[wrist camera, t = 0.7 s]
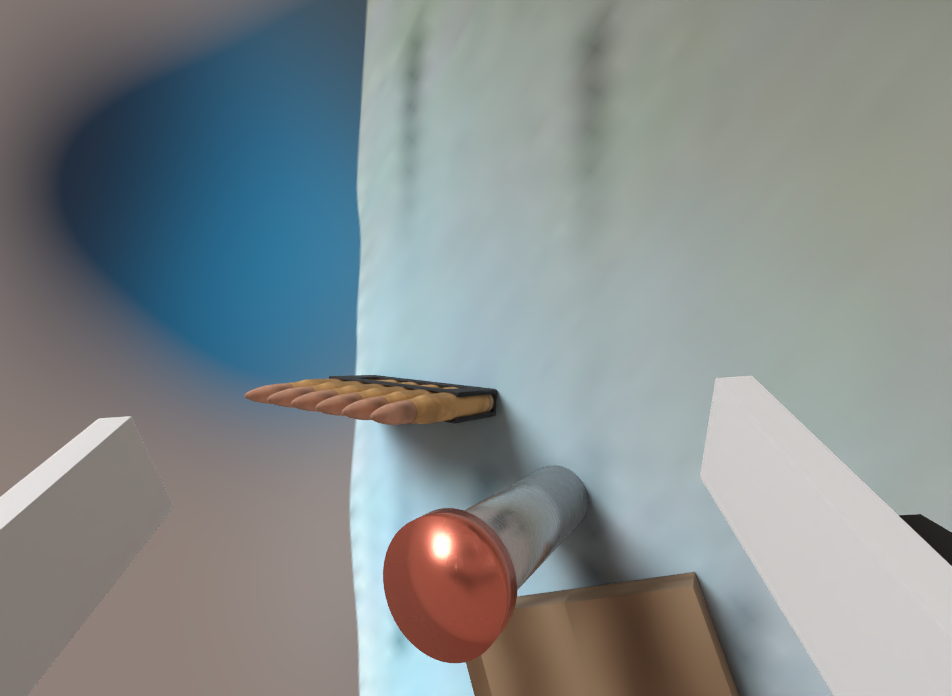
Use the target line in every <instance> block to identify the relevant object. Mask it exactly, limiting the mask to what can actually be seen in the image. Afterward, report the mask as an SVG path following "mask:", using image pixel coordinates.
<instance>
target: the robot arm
mask: <svg viewBox="0 0 952 696" xmlns="http://www.w3.org/2000/svg"><path fill="white" fill-rule="evenodd" d="M700 478H701V479H702V481H703V483H704V484H705V486H706V488H707V489H708V491H709V492H710V494H711V496H712V497H713V499H714V501H715V502H716V504H717V506H718V507H719V509H720V510H721V512H722V514H723V515H724V517H725V519H726V520H727V522H728V523H729V525H730V527H731V528H732V530H733V532H734V533H735V535H736V537H737V538H738V540H739V541H740V543H741V545H742V546H743V548H744V550H745V551H746V553H747V554H748V556H749V558H750V559H751V561H752V563H753V564H754V566H755V568H756V569H757V571H758V572H759V574H760V576H761V577H762V579H763V581H764V582H765V584H766V585H767V587H768V589H769V590H770V592H771V594H772V595H773V597H774V599H775V600H776V602H777V603H778V605H779V607H780V608H781V610H782V612H783V613H784V615H785V616H786V618H787V620H788V621H789V623H790V625H791V626H792V628H793V630H794V631H795V633H796V634H797V636H798V638H799V639H800V641H801V643H802V644H803V646H804V647H805V649H806V651H807V652H808V654H809V656H810V657H811V659H812V661H813V662H814V664H815V665H816V667H817V669H818V670H819V672H820V674H821V675H822V677H823V678H824V680H825V682H826V683H827V685H828V687H829V688H830V690H831V692H832V693H833V695H834V696H952V532H950V531H948V530H946V529H945V528H943V527H941V526H940V525H938V524H936V523H934V522H933V521H931V520H929V519H928V518H926V517H924V516H922V515H921V514H918V515H899V516H898V515H897V514H896V513H895V512H894V511H893V510H892V509H891V508H890V507H889V506H888V505H887V504H886V503H885V502H884V501H883V500H882V499H881V498H880V497H878V496H877V495H876V494H875V493H874V492H873V491H872V490H871V489H870V488H869V487H868V486H867V485H866V484H865V483H864V482H863V481H862V480H861V479H860V478H859V477H857V476H856V475H855V474H854V473H853V472H852V471H851V470H850V469H849V468H848V467H847V466H846V465H845V464H844V463H843V462H842V461H841V460H840V459H839V458H838V457H836V456H835V455H834V454H833V453H832V452H831V451H830V450H829V449H828V448H827V447H826V446H825V445H824V444H823V443H822V442H821V441H820V440H819V439H818V438H817V437H815V436H814V435H813V434H812V433H811V432H810V431H809V430H808V429H807V428H806V427H805V426H804V425H803V424H802V423H801V422H800V421H799V420H798V419H797V418H796V417H794V416H793V415H792V414H791V413H790V412H789V411H788V410H787V409H786V408H785V407H784V406H783V405H782V404H781V403H780V402H779V401H778V400H777V399H776V398H775V397H773V396H772V395H771V394H770V393H769V392H768V391H767V390H766V389H765V388H764V387H763V386H762V385H761V384H760V383H759V382H758V381H757V380H756V379H755V378H754V377H752V376H740V377H724V378H716V380H715V386H714V392H713V398H712V405H711V411H710V417H709V423H708V430H707V436H706V442H705V449H704V455H703V461H702V467H701V474H700ZM173 508H174V506H173V504H172V502H171V500H170V498H169V496H168V493H167V491H166V489H165V487H164V485H163V483H162V481H161V478H160V477H159V474H158V472H157V470H156V468H155V466H154V464H153V462H152V459H151V457H150V455H149V453H148V451H147V449H146V447H145V444H144V442H143V440H142V438H141V436H140V434H139V432H138V430H137V428H136V425H135V423H134V421H133V419H132V417H131V416H130V417H114V418H99V419H98V420H96V421H95V422H94V423H93V424H91V425H90V426H89V427H88V428H86V429H85V430H84V431H83V432H82V433H80V434H79V435H78V436H76V437H75V438H74V439H73V440H71V441H70V442H69V443H67V444H66V445H65V446H64V447H62V448H61V449H60V450H59V451H58V452H56V453H55V454H54V455H52V456H51V457H50V458H49V459H47V460H46V461H45V462H44V463H42V464H41V465H40V466H39V467H37V468H36V469H35V470H34V471H32V472H31V473H30V474H29V475H27V476H26V477H25V478H24V479H22V480H21V481H20V482H19V483H17V484H16V485H15V486H14V487H12V488H11V489H10V490H8V491H7V492H6V493H5V494H4V495H2V496H1V497H0V696H27V695H28V694H29V693H30V691H31V690H32V689H33V688H34V686H35V685H36V684H37V683H38V681H39V680H40V679H41V677H42V676H43V675H44V674H45V672H46V671H47V670H48V668H49V667H50V666H51V665H52V663H53V662H54V661H55V659H56V658H57V657H58V656H59V654H60V653H61V652H62V650H63V649H64V648H65V647H66V645H67V644H68V643H69V641H70V640H71V639H72V638H73V636H74V635H75V634H76V632H77V631H78V630H79V629H80V627H81V626H82V625H83V623H84V622H85V621H86V620H87V618H88V617H89V616H90V614H91V613H92V612H93V611H94V609H95V608H96V607H97V605H98V604H99V603H100V601H101V600H102V599H103V598H104V597H105V595H106V594H107V593H108V591H109V590H110V589H111V587H112V586H113V585H114V584H115V582H116V581H117V580H118V578H119V577H120V576H121V575H122V573H123V572H124V571H125V570H126V568H127V567H128V566H129V564H130V563H131V562H132V560H133V559H134V558H135V557H136V555H137V554H138V553H139V552H140V550H141V549H142V548H143V546H144V545H145V544H146V543H147V541H148V540H149V539H150V537H151V536H152V535H153V534H154V532H155V531H156V530H157V528H158V527H159V526H160V525H161V523H162V522H163V521H164V519H165V518H166V517H167V516H168V514H169V513H170V512H171V510H172V509H173Z"/></svg>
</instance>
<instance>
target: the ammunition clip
mask: <svg viewBox="0 0 952 696" xmlns="http://www.w3.org/2000/svg"><path fill="white" fill-rule="evenodd" d="M496 395H497V391H496V390H495V389H490V388H481V387H473V386H464V385H455V384H447V383H438V382H429V381H421V380H412V379H403V378H395V377H386V376H377V375H361V376H330V377H329V379H308V380H302V381H299V382H293V383H286V384H274V385H267V386H263V387H259V388H257V389H254V390H251V391H249V392H247V393H246V394H245V397H246V398H247V399H250V400H252V401H255V402H260V403H268V404H275V405H279V406H284V407H294V408H298V409H302V410H307V411H318V412H322V413H325V414H330V415H339V416H340V415H341V416H347V417H350V418H354V419H359V420H374V421H375V422H378V423H382V424H389V425H400V424H413V423H418V424H430V423H436V422H442V421H444V422H450V423H460V422H465V421H470V420H476V419H481V418H487V417H492V416H495V408H496Z"/></svg>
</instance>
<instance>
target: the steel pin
mask: <svg viewBox="0 0 952 696" xmlns="http://www.w3.org/2000/svg"><path fill="white" fill-rule="evenodd" d="M587 507H588V496H587V492H586V489H585V486H584V485H583V483H582V481H581V480H580V479H579V477H578V476H577V475H576V474H574V473H573V472H572V471H570V470H569V469H567V468H564V467H561V466H546V467H543V468H541V469H539V470H538V471H536V472H534V473H532V474H530V475H529V476H527V477H525V478H523V479H521V480H519V481H518V482H516V483H514V484H512V485H510V486H508V487H507V488H505V489H503V490H501V491H499V492H498V493H496V494H494V495H492V496H490V497H488V498H487V499H485V500H483V501H481V502H479V503H477V504H476V505H474V506H472V507H470V508H468V509H466V510H465V511H463V510H460V509H454V508H443V509H437V510H434V511H431V512H429V513H427V514H425V515H423V516H421V517H419V518H417V519H415V520H413V521H411V522H409V523H407V524H406V525H405V526H403V527H402V528H401V529H400V530H399V531H398V532H397V534H396V535H395V536H394V538H393V539H392V541H391V543H390V545H389V547H388V550H387V553H386V557H385V561H384V569H383V582H384V590H385V595H386V599H387V603H388V606H389V609H390V611H391V614H392V616H393V618H394V620H395V622H396V624H397V625H398V627H399V628H400V630H401V631H402V633H403V634H404V635H405V637H406V638H407V639H408V640H409V641H410V642H411V643H412V644H413V645H414V646H415V647H416V648H418V649H419V650H420V651H421V652H423V653H425V654H426V655H428V656H430V657H432V658H434V659H436V660H439V661H442V662H448V663H463V662H468V661H471V660H473V659H475V658H477V657H479V656H481V655H482V654H483V653H484V652H485V651H487V650H488V649H489V647H490V646H491V645H492V644H493V643H494V641H495V640H496V639H497V638H498V637H499V635H500V634H501V633H502V632H503V631H504V629H505V628H506V627H507V625H508V624H509V622H510V620H511V618H512V615H513V613H514V609H515V606H516V599H517V590H518V589H519V588H520V587H521V586H522V585H523V583H524V582H525V581H526V580H527V579H528V578H529V577H530V576H531V575H532V574H533V573H534V572H535V570H536V569H537V568H538V567H539V566H540V565H541V564H542V563H543V562H544V561H545V560H546V559H547V558H548V556H549V555H550V554H551V553H552V552H553V551H554V550H555V549H556V548H557V547H558V546H559V545H560V543H561V542H562V541H563V540H564V539H565V538H566V537H567V536H568V535H569V534H570V533H571V532H572V530H573V529H574V528H575V527H576V526H577V525H578V524H579V523H580V522H581V521H582V519H583V518H584V516H585V514H586V511H587Z"/></svg>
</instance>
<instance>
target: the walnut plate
mask: <svg viewBox="0 0 952 696" xmlns="http://www.w3.org/2000/svg"><path fill="white" fill-rule="evenodd" d="M466 664H467V668H468V672H469V676H470V679H471V683H472V687H473V691H474V695H475V696H739V694H738V691H737V688H736V685H735V683H734V680H733V677H732V674H731V671H730V669H729V666H728V663H727V660H726V658H725V655H724V652H723V649H722V646H721V644H720V641H719V638H718V635H717V633H716V630H715V627H714V624H713V621H712V619H711V616H710V613H709V610H708V608H707V605H706V602H705V599H704V596H703V594H702V591H701V588H700V585H699V583H698V580H697V577H696V574H695V572H692V573H684V574H677V575H670V576H663V577H656V578H648V579H641V580H634V581H627V582H620V583H613V584H605V585H598V586H591V587H584V588H577V589H569V590H562V591H555V592H548V593H541V594H534V595H526V596H519V597H517V599H516V606H515V609H514V613H513V615H512V618H511V620H510V622H509V624H508V625H507V627H506V628H505V629H504V631H503V632H502V633H501V634H500V635H499V637H498V638H497V639H496V640H495V641H494V643H493V644H492V645H491V646H490V647H489V649H488V650H487V651H485V652H484V653H483V654H482V655H481V656H479V657H477V658H475V659H473V660H471V661H468V662H466Z"/></svg>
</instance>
